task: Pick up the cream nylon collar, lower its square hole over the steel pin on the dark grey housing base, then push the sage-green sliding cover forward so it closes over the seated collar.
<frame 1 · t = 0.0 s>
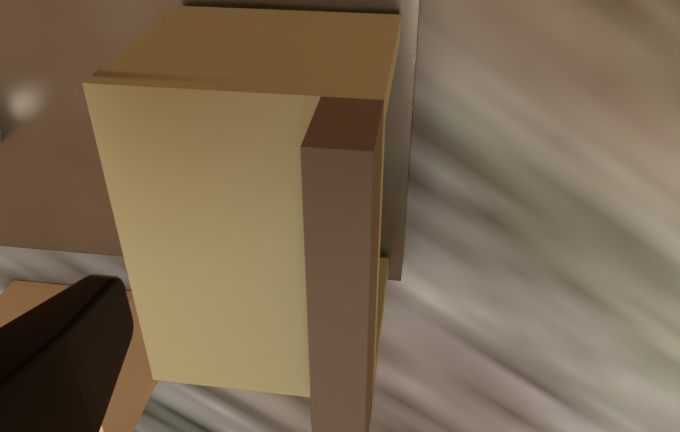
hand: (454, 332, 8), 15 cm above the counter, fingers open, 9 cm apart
housing base: (146, 125, 24), on the counter
cover: (264, 224, 19), point 6 cm above the counter, slide at 12.0 cm
collar: (88, 333, 31), on the counter
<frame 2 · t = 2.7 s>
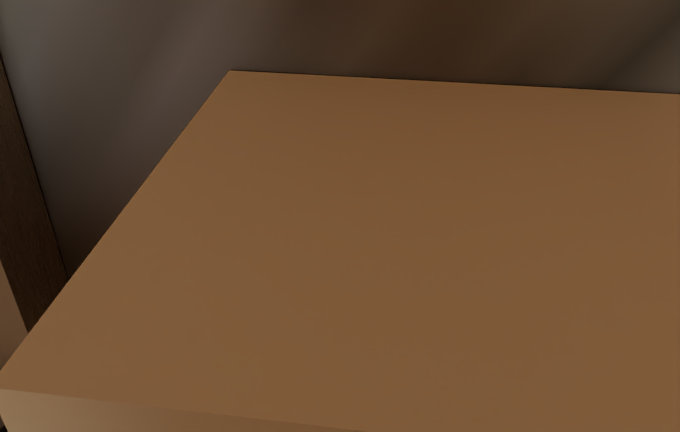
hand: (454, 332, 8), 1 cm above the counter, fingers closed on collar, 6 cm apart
collar: (453, 282, 9), on the counter, touching gripper
when the fingers open (3 cm above the counter, at t = 6.2 s): collar stays where it is, resting on housing base.
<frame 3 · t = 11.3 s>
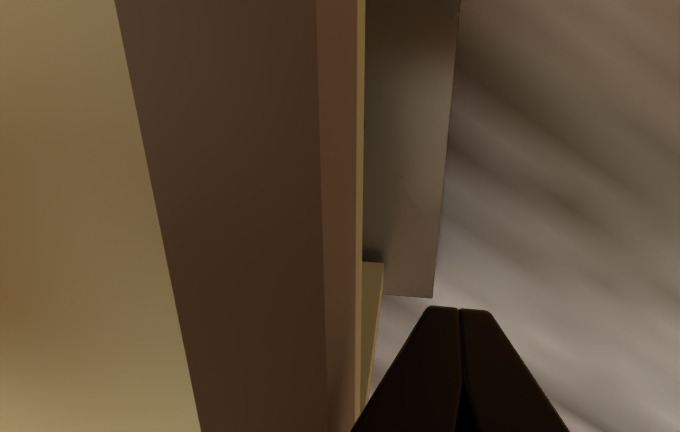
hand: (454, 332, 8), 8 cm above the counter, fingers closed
housing base: (51, 69, 16), on the counter
cover: (163, 208, 11), point 6 cm above the counter, slide at 11.2 cm, touching gripper
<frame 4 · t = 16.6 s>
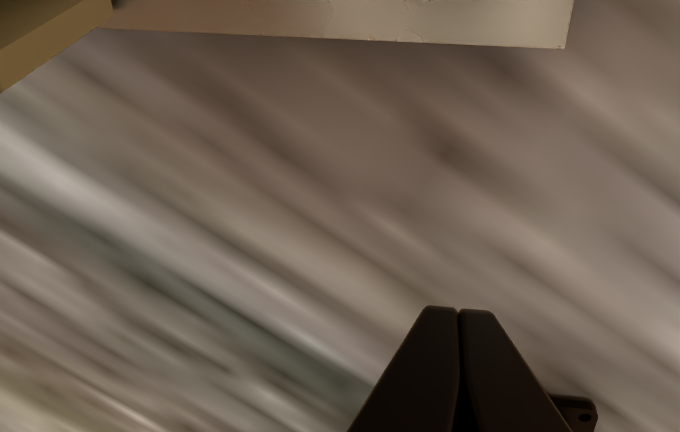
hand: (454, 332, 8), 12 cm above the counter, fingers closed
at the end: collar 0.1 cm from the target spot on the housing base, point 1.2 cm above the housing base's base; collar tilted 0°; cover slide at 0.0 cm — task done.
